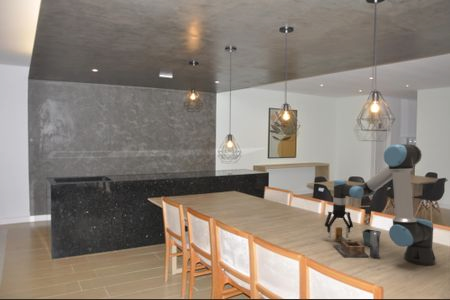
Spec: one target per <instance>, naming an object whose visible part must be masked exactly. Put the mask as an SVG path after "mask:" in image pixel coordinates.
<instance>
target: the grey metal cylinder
mask: <svg viewBox="0 0 450 300" xmlns="http://www.w3.org/2000/svg"><path fill="white" fill-rule="evenodd" d="M376 231H377V230H375V231H371V232H370V246H369V257H370V258H371V259H379V258H380V242H381V240H380V239H381V234H380V232H376Z"/></svg>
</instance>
